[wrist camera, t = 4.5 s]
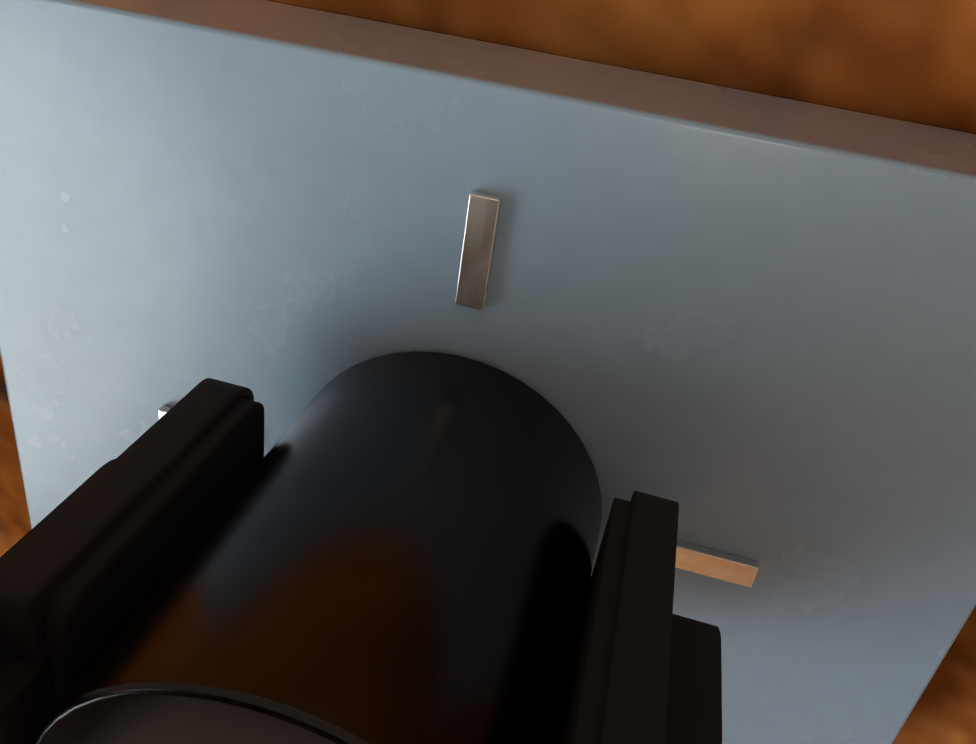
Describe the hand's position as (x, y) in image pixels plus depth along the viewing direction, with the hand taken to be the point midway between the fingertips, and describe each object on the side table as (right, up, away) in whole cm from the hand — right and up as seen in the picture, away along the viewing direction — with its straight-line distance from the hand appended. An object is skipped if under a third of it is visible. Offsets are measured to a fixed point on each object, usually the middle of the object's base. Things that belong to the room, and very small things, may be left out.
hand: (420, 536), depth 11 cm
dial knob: (0, 0, +1) cm, 1 cm away
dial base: (+1, +2, +3) cm, 4 cm away
